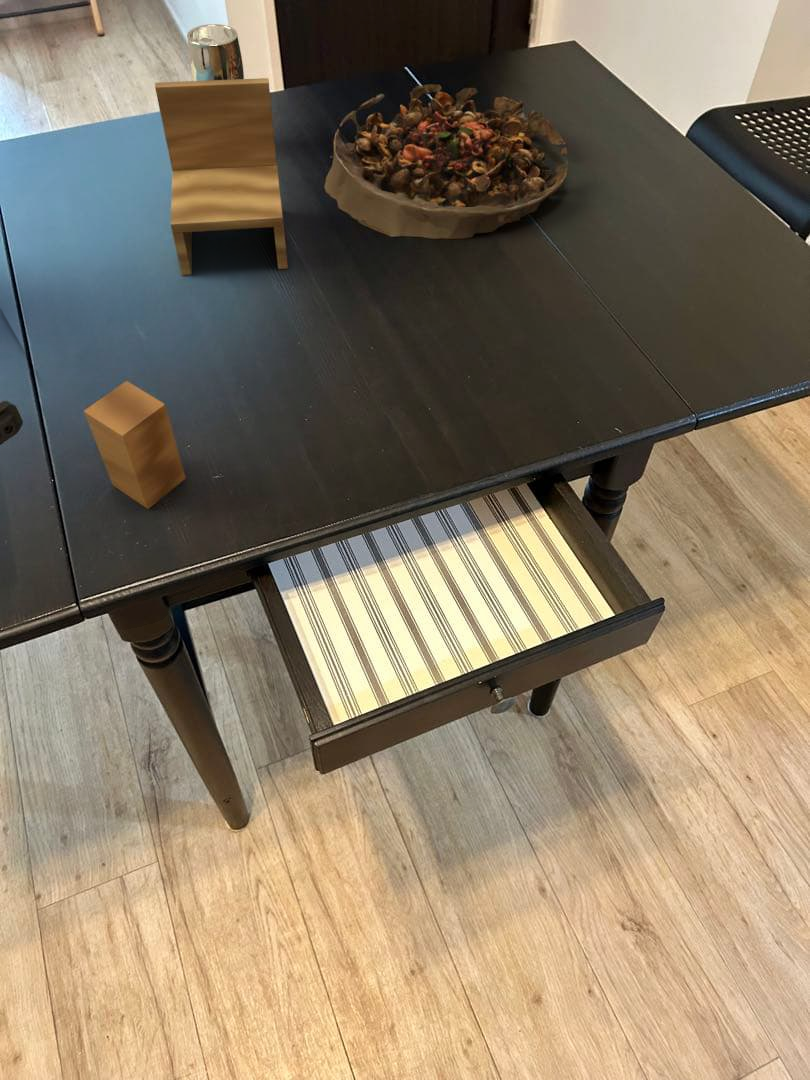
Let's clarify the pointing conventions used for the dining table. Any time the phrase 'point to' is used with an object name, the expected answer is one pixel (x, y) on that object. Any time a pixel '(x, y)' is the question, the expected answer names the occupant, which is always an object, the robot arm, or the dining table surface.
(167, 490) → the kraft box
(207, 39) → the silver metal cylinder
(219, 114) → the miniature wooden chair
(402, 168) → the food dish
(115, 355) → the dining table surface
